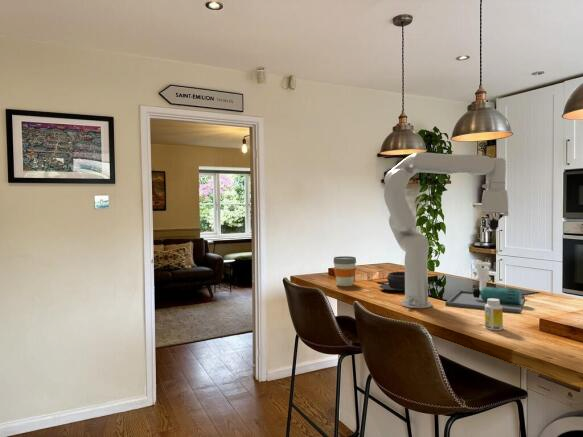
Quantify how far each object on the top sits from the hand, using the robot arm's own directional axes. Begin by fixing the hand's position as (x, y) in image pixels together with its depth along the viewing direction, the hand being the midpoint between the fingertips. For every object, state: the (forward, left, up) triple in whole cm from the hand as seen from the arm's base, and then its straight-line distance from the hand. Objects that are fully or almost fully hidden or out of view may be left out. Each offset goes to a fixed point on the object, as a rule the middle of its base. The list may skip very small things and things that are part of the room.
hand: (494, 229), depth 180 cm
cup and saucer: (+10, +44, -33) cm, 55 cm away
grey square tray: (0, +4, -32) cm, 32 cm away
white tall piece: (+26, +9, -33) cm, 42 cm away
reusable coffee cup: (+10, +77, -33) cm, 84 cm away
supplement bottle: (-40, -4, -33) cm, 52 cm away
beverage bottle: (-1, -12, -29) cm, 31 cm away
